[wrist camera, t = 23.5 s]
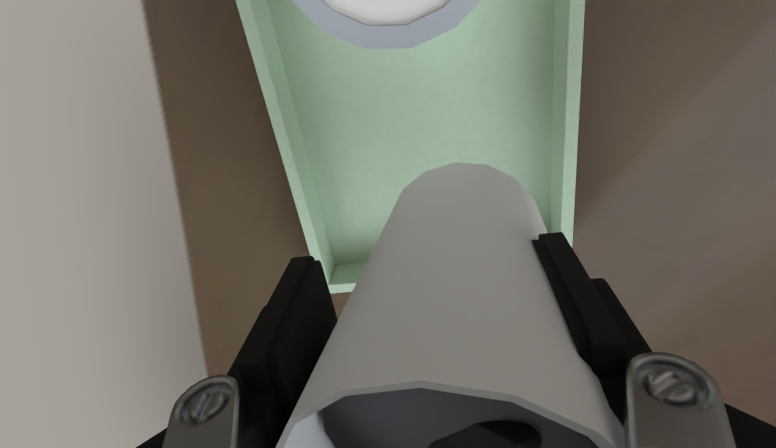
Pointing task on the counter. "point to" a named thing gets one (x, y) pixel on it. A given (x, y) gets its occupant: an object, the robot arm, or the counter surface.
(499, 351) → the white tumbler
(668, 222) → the counter surface
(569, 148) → the tray
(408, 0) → the white tapered cup
